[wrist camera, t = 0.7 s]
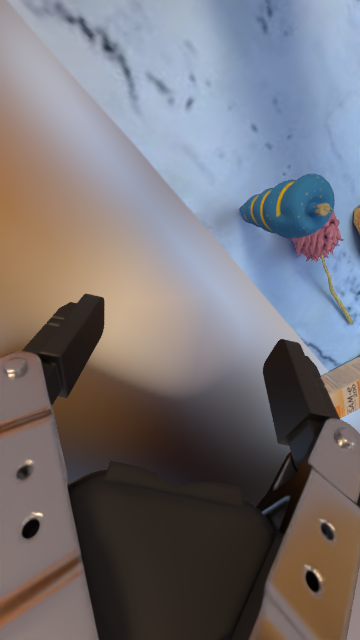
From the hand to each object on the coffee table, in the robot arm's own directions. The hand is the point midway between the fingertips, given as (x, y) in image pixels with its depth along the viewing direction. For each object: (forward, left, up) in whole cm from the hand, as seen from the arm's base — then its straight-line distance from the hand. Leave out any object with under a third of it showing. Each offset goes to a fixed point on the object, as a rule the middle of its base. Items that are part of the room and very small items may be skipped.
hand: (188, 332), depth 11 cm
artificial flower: (+23, +18, -23) cm, 37 cm away
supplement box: (+49, +15, -20) cm, 55 cm away
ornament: (+6, +13, -23) cm, 27 cm away
